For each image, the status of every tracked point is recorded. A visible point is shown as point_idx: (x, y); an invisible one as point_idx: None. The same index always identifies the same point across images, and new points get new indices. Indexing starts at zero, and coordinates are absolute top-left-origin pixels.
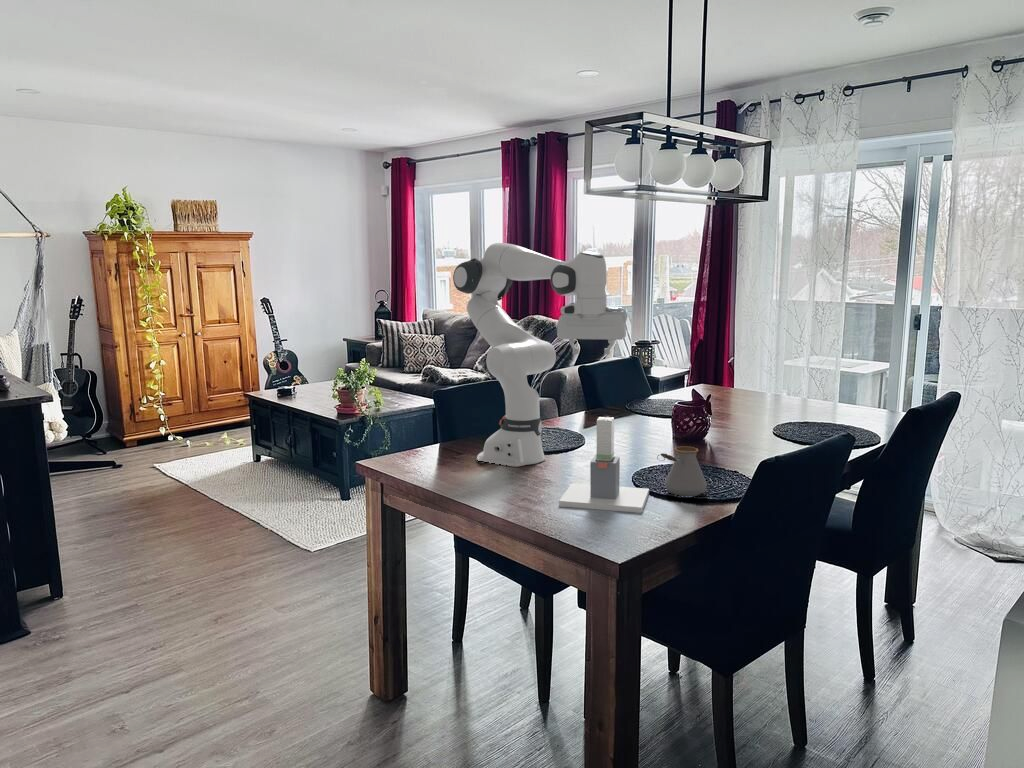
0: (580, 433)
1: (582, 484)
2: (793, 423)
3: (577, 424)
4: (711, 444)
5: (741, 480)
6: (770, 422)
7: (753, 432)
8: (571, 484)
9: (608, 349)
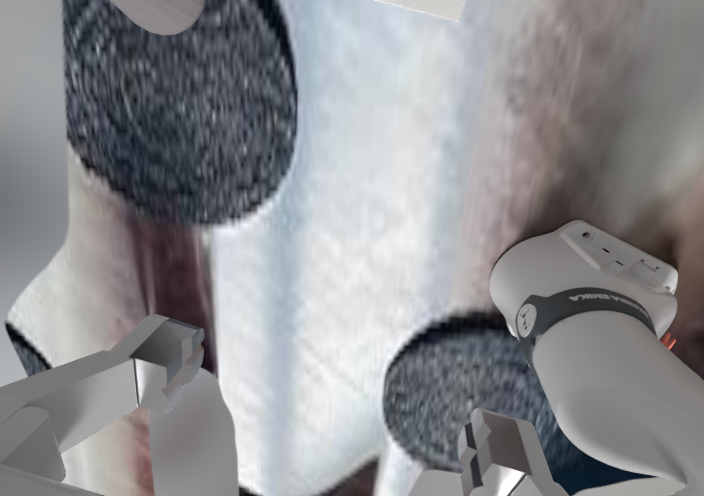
0: (387, 432)
1: (430, 5)
2: None
3: (388, 480)
4: None
5: (66, 98)
6: None
7: None
8: (463, 4)
9: (120, 348)
